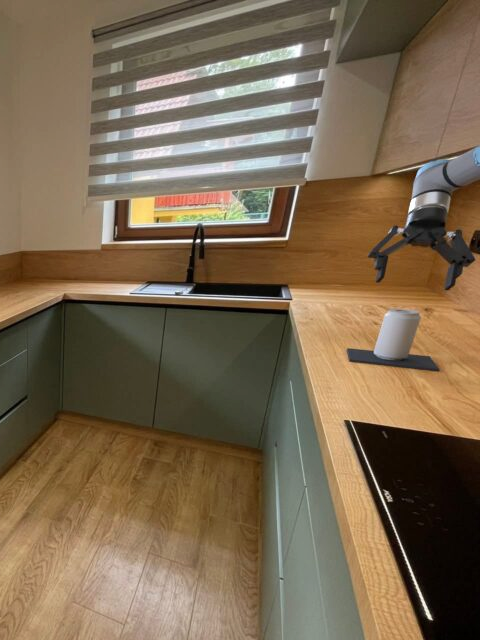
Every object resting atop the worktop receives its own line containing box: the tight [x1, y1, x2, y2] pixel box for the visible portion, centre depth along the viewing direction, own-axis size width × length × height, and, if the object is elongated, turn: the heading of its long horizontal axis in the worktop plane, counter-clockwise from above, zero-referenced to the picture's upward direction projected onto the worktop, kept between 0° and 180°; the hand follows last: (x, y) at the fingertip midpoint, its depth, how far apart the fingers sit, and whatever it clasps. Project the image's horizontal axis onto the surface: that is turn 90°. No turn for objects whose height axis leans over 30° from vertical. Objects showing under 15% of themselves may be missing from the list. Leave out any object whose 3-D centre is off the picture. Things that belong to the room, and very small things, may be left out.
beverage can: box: [373, 308, 422, 360], centre depth 106 cm, size 6×6×12 cm
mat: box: [346, 347, 441, 372], centre depth 108 cm, size 16×12×1 cm
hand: (413, 283), depth 110 cm, fingers open, 13 cm apart
